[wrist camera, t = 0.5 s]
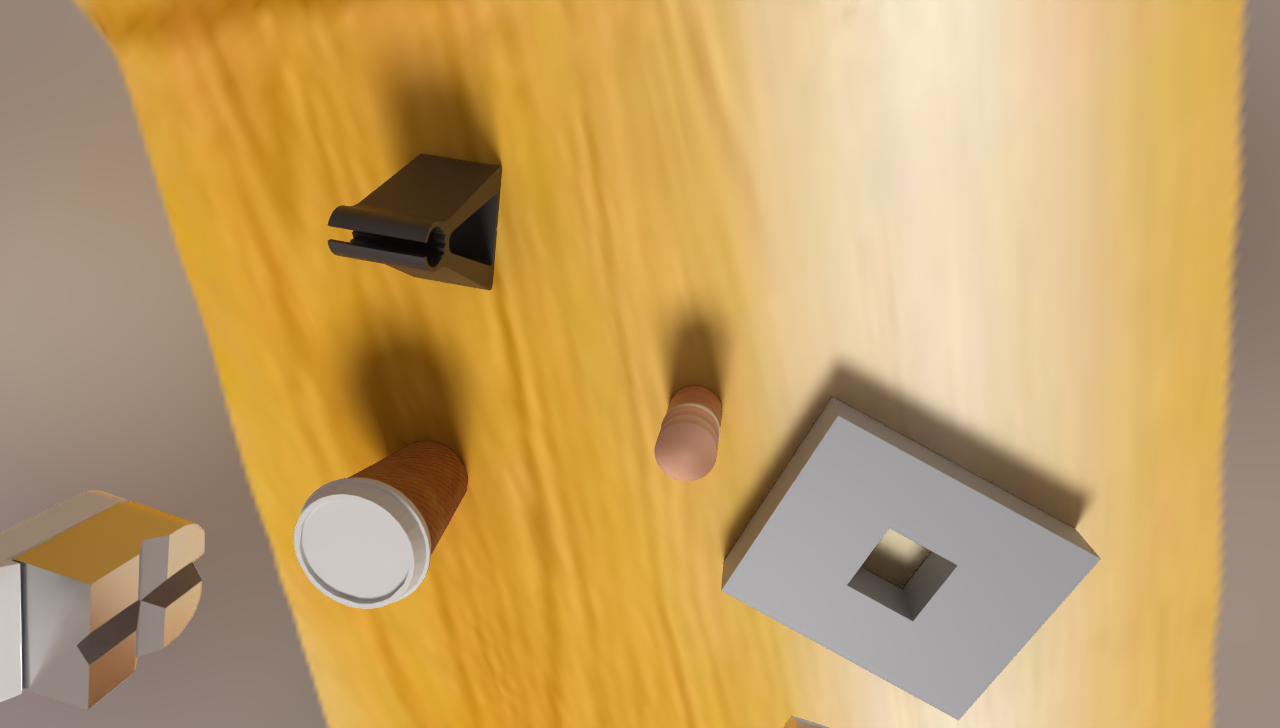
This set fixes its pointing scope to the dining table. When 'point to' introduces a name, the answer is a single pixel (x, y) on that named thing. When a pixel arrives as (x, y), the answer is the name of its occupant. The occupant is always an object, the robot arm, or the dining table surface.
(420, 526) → the disposable coffee cup
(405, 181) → the phone stand
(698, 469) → the terracotta peg
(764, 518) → the gray board
